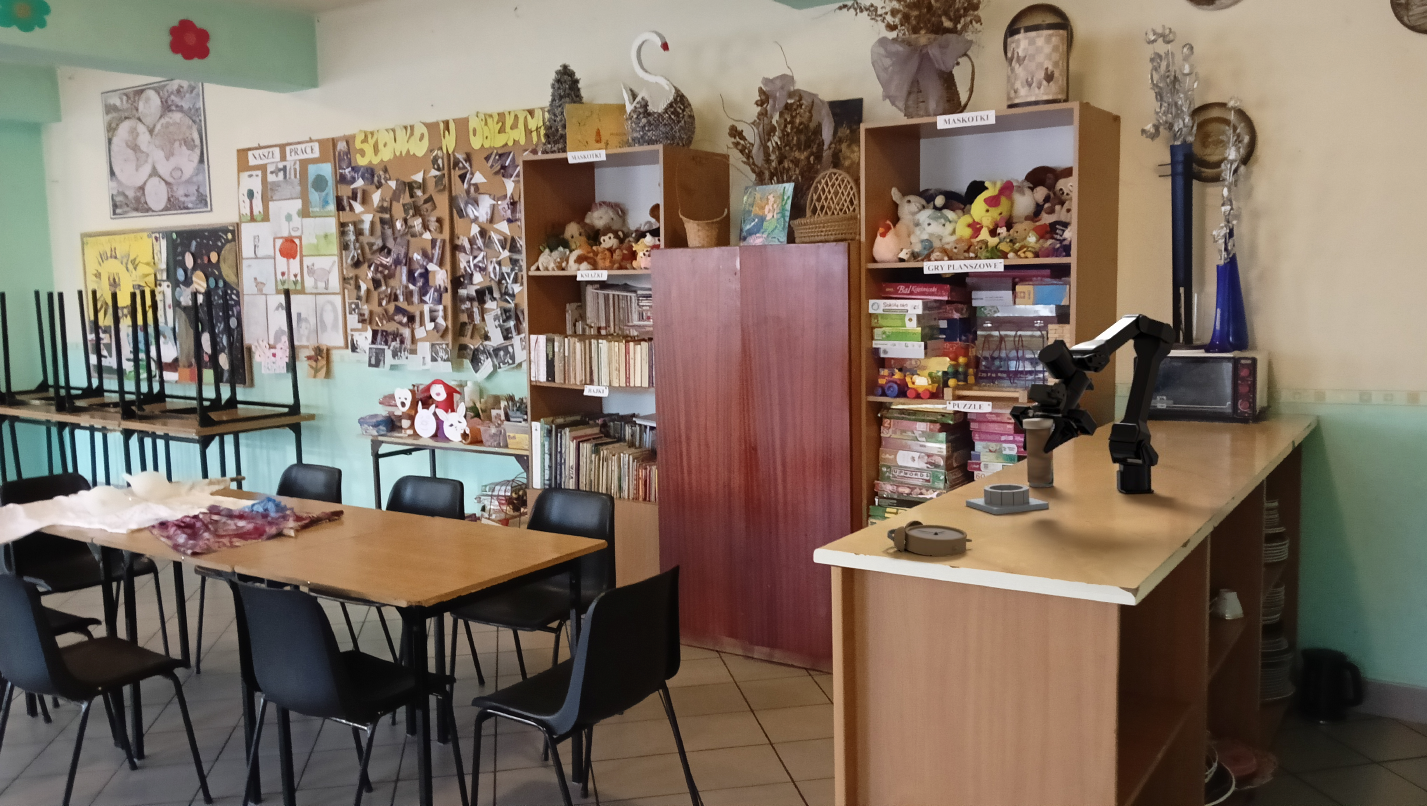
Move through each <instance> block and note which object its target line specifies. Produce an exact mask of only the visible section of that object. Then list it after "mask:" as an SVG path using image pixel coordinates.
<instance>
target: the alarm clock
mask: <svg viewBox="0 0 1427 806" xmlns="http://www.w3.org/2000/svg"><path fill="white" fill-rule="evenodd" d="M886 534H887V536H886V537H887V539H888V540H890V541H892V542H893V546H894V548H895V549H896V550H897V551H899V550H900V551H899V552H903V551H904V552H905V549H906V550H908V552H909V551H910V552H911V553H915V554H919V555H923V556H930V555H932V557H948V555H950V556H955V555H959V554H962V553H964V552H966V551H967V543H972V542H973V540H972V539H971V538H967V537H968V534H967V532H966V531H964V530H963V529H960V528H957V527H954V526H953V527H952V526H947V525H940V524H923V522H922V521H919V520H911V521H909V522H907V523H906V524H905V526H904V525H903V526H899V527H897V528H891V529H889V530H888V531H887V533H886Z"/></svg>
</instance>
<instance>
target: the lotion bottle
mask: <svg viewBox="0 0 1427 806" xmlns="http://www.w3.org/2000/svg"><path fill="white" fill-rule="evenodd" d="M1037 404H1038V403H1037V402H1035V403H1032V404H1031V406H1030V407H1031V408H1032V409H1033V411H1035V412H1038V413H1041V411H1042V410H1041V409H1038V407H1037V406H1036V405H1037ZM1053 429H1054V428H1050V435H1051V433H1052V431H1053ZM1054 473H1055V472H1054V450H1052V451H1051V479H1052V482H1050V483H1044V484H1035V483H1029V482H1028V483H1029V484H1028V485H1029V486H1030V487H1032V488H1051V487H1053V486H1054V485H1055V484H1054V481H1055V480H1054V479H1055V478H1054Z"/></svg>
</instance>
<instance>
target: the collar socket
mask: <svg viewBox="0 0 1427 806" xmlns="http://www.w3.org/2000/svg"><path fill="white" fill-rule="evenodd" d="M965 506H967V507H970V508H974V509H977V510H979V511H981V512H982V511H983V512H986V513H990V514H993V515H995V516H996V515H1002V514H1010V513H1011V514H1012V513H1021V512H1028V511H1038V510H1044V509H1045V510H1046V509H1049V508H1050V504H1049V502H1048V501H1044V500H1040V499H1036V498H1032V497H1030V487H1029V486H1028V485H1024V484H1020V483H1019V484H1016V483H998V484H996V483H995V484H989V485H986V486H983V497H982V498H974V499H973V498H971V499H966V500H965Z"/></svg>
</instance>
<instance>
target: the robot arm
mask: <svg viewBox="0 0 1427 806" xmlns="http://www.w3.org/2000/svg"><path fill="white" fill-rule="evenodd" d="M1176 333H1177V332H1176V330H1175V329H1174V328H1173V326H1172V325H1171V324H1170V323H1168V322H1163V321H1160V320H1157V319H1153V318H1151V317H1148V316H1147V315H1146V314H1143V313H1130V314H1129V313H1128V314H1124V315H1123V316H1121V318H1120V319H1119V320H1118V321H1117V322H1116V323H1114V324H1113V325H1112V326H1110V327H1109V328H1107V329H1105V331H1103V332H1102V333H1101V334H1100V335H1098V336H1096V337H1095V338H1094V339H1092V340H1089V341H1088V340H1087V341H1084V342H1080V343H1079V344H1076V345H1073V346H1072V347H1071V348H1069V346H1067V343H1066V341H1065V340H1064V339H1054V340H1053V342H1052V343H1049V344H1048V345H1046V346H1044V347H1043V348H1042V349H1040V350H1039V352H1038V354H1037V360H1038V361H1039V362H1040V363H1041V365H1042V366H1043V368H1044V369H1045V371H1046V372H1047V373H1048V375H1049V376H1050V377H1051V379H1053V380H1058V381H1057V382H1054V383H1053V384H1048V383H1047V384H1046V383H1031V384H1030V387H1029V391H1028V394H1027V399H1028V400H1032V401H1033V402H1035V403H1038V404H1037V405H1036V406H1037V407H1038V409H1041V410H1042V411H1041V413H1038V412H1035V411H1033V409H1032V408H1031V406H1030V405H1021V404H1018V405H1017V404H1016V405H1013V406H1012V408H1011V410H1010V411H1009V413H1008V414H1009V416H1010V417H1011V418H1012V420H1013V421H1014V422H1015V424H1017V426H1018V427H1019V428H1020V429H1021V430H1023V431H1024V434H1023V440H1022V450H1023V452H1027V440H1026V428H1023V420H1025V419H1033V418H1047V419H1053V428H1052V429H1053V431H1052V433H1051V435H1050V437H1049V439H1048V441H1047V443H1046V445H1045V447H1044V450H1043V451H1044V453H1045V454H1047V453H1049V452H1051V451H1052V450H1053V451H1054V450H1055V449H1057V448H1059V447H1060V446H1062V445H1064V444H1065V443H1067V442H1069V441H1071V440H1073V439H1075V438H1078V437H1079V436H1080V434H1081V436H1087V437H1089V436H1090V437H1093V436H1094V434H1095V433H1096V431H1097V427H1098V425H1097V421H1096V420H1094V418H1093V417H1092V415H1091V413H1089V411H1088V410H1087V409H1085V408H1082V406H1081V404H1080V403H1079V402H1080V400H1081V398H1082V396H1083V394H1084V393H1085V391H1094V390H1095V385H1094V383H1093V379H1092V377H1089V376H1088V375H1087V373H1095V374H1098V373H1101V372H1102V371H1103V370H1104V369H1105V368H1106V367H1107V366H1108V365H1109V364H1110V362H1111V356H1112V355H1113V354H1114V353H1115V352H1117V351H1118V350H1119V349H1120V348H1121V347H1123V346H1124V345H1125V344H1127V343H1128V342H1130V340H1131V341H1132V342H1133V345H1132V347H1133V350H1134V352H1135V356H1136V357H1137V358H1136V359H1137V360H1136V364H1135V368H1134V371H1133V372H1134V373H1133V377H1132V381H1131V386H1130V389H1129V390H1130V391H1129V393H1128V398H1127V403H1126V407H1125V412H1124V415H1123V418H1122V419H1121V420H1120V421H1119V422H1113V424H1112V425H1111V429H1110V433H1109V437H1108V439H1107V440H1108V450H1109V455H1110V458H1111V462H1112V464H1113V465H1116V464H1118V469H1117V470H1116V490H1118V491H1120V492H1122V493H1124V494H1144V493H1146V494H1148V493H1155V489H1153V488H1152V467H1156V466H1157V465H1158V463H1159V457H1160V455H1159V453H1157V451H1156V449H1155V448H1154V447H1153V445H1152V444H1151V441H1152V435H1151V431H1150V430H1149V429H1150V428H1149V426H1148V423H1147V422H1148V419H1149V414H1150V410H1151V405H1152V401H1153V397H1154V394H1155V388H1156V385H1157V384H1156V383H1157V380H1158V374H1159V370H1160V367H1161V363H1162V362H1163V361H1164V360H1165V359H1166V358H1167V357H1168V356H1169V355H1170V353H1171V352H1172V349H1173V347H1174V346H1173V345H1174V343H1175V341H1176V337H1177V334H1176ZM1079 433H1080V434H1079Z"/></svg>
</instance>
